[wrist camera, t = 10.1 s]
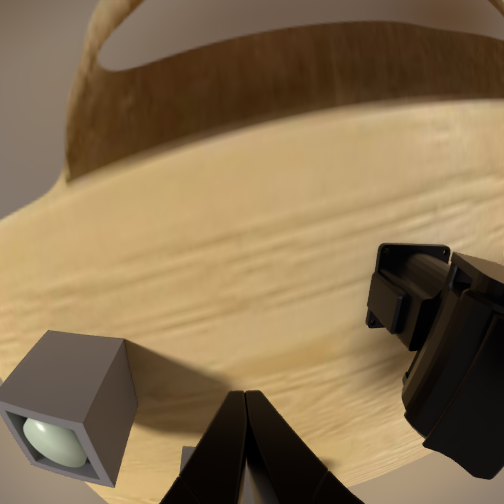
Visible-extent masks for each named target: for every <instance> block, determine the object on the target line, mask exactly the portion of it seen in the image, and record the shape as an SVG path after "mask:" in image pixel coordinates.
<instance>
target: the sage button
mask: <svg viewBox="0 0 504 504" xmlns="http://www.w3.org/2000/svg"><path fill="white" fill-rule="evenodd" d="M23 430H24V434H25V436H26V438H27V439H28V441H29V442H30V443H31V444H32V445H33V447H34V448H35V449H37V450H38V451H39V452H40V453H41V454H43V455H44V456H46V457H47V458H49V459H50V460H52V461H54V462H56V463H58V464H61V465H64V466H68V467H81V466H83V465H84V464H85V461H86V459H87V455H86V453H85V451H84V449H83V447H82V445H81V443H80V441H79V439H78V437H77V435H76V433H75V431H74V430H71V429H67V428H63V427H59V426H55V425H51V424H47V423H44V422H40V421H37V420H33V419H30V418H28V419H27V421H26V422H25V424H24V427H23Z"/></svg>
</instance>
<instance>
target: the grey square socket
mask: <svg viewBox="0 0 504 504" xmlns="http://www.w3.org/2000/svg"><path fill="white" fill-rule="evenodd" d="M137 407H138V403H137V399H136V395H135V391H134V386H133V382H132V378H131V373H130V368H129V363H128V358H127V353H126V348H125V342H124V339H120V338H109V337H99V336H89V335H80V334H72V333H64V332H57V331H49V330H48V331H47V332H46V333H45V334H44V335H43V336H42V338H41V339H40V340H39V341H38V342H37V343H36V344H35V346H34V347H33V348H32V349H31V350H30V351H29V352H28V354H27V355H26V356H25V357H24V358H23V359H22V361H21V362H20V363H19V364H18V365H17V367H16V368H15V369H14V370H13V372H12V373H11V374H10V375H9V376H8V378H7V379H6V380H5V381H4V383H3V384H2V385H1V387H0V414H1V416H2V418H3V420H4V422H5V423H6V425H7V427H8V429H9V430H10V432H11V434H12V435H13V437H14V438H15V440H16V442H17V443H18V445H19V446H20V448H21V450H22V451H23V453H24V454H25V455H26V457H27V458H28V460H29V461H30V463H31V464H32V465H34V466H37V467H39V468H42V469H45V470H48V471H51V472H54V473H57V474H61V475H64V476H68V477H71V478H75V479H79V480H82V481H86V482H90V483H94V484H98V485H103V486H108V487H112V488H115V484H116V481H117V477H118V473H119V469H120V466H121V462H122V458H123V455H124V451H125V448H126V444H127V441H128V437H129V434H130V430H131V427H132V424H133V420H134V417H135V414H136V411H137ZM28 418H30V419H33V420H37V421H40V422H44V423H47V424H51V425H55V426H59V427H63V428H67V429H71V430H74V431H75V433H76V435H77V437H78V439H79V441H80V443H81V445H82V447H83V449H84V451H85V453H86V455H87V459H86V461H85V464H84V465H83V466H81V467H68V466H64V465H61V464H58V463H56V462H54V461H52V460H50V459H49V458H47V457H46V456H44V455H43V454H41V453H40V452H39V451H38V450H37V449H35V448H34V447H33V445H32V444H31V443H30V442H29V441H28V439H27V438H26V436H25V434H24V430H23V427H24V424H25V422H26V421H27V419H28Z"/></svg>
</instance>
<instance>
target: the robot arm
mask: <svg viewBox="0 0 504 504" xmlns="http://www.w3.org/2000/svg"><path fill="white" fill-rule="evenodd" d="M385 248H387V252H386V253H384V249H385ZM444 250H445V253H444V254H443V252H444ZM449 256H450V248H449V247H448V246H446V245H433V244H405V243H382V244H381V245H380V246H379V248H378V254H377V260H376V267H375V272H374V273H373V275H372V280H371V286H370V291H369V297H368V302H367V306H368V312H367V317H366V324H367V326H368V327H369V328H385V327H386V329H387V330H388V331H389V332H390V333H391V334H392V335H393V334H395V335H396V336H397V337H398V338H399V339H400V340H401V341H402V343H403V344H404V345H405V346H406V347H407V348H408V350H409V351H417V353H416V355H415V358H414V360H413V362H412V364H411V366H410V368H409V370H408V372H406V373H405V375H404V377H403V379H402V381H403V386H404V387H403V390H402V401H403V404H404V407H405V409H406V412H405V413H404V416H405V419H406V420H407V421H408V423H409V424H410V425H411V427H412V428H413V429H414V430H416V431H417V432H418V433H419V434H420V435H421V436H422V437H423V438H425V441H424V442H423V443H422V445H423V446H424V447H425V448H428V449H431V450H434V451H437V452H440V453H442V454H444V455H445V456H447V457H449V458H451V459H453V460H454V461H455V462H457V463H458V464H459V465H460V466H461V467H463V468H464V469H465V470H466V471H467V472H469V473H470V474H471V475H472V476H474V477H477V478H482V479H488V480H490V479H492V478H494V477H495V476H496V475H497V474H498V472H499V471H500V470H501V469H502V468H503V467H504V266H502V265H500V264H498V263H495V262H491V261H487V260H483V259H480V258H476V257H472V256H468V255H464V254H461V253H457V252H453V254H452V257H451V260H450V261H451V262H452V263H451V266H450V265H448V261H449ZM372 320H374V322H373V323H371V321H372ZM246 461H247V468H248V474H249V479H250V483H251V488H252V493H253V497H254V502H255V504H365V503H364V502H362V501H361V500H360V499H359V498H357V497H356V496H355V495H353V494H352V493H351V492H350V491H349V490H348V489H347V488H346V487H345V486H344V485H343V484H342V483H341V482H340V481H339V480H338V479H337V478H336V477H335V476H334V475H333V474H332V473H331V471H328V468H327V467H326V466H325V465H324V464H323V463H322V462H321V461H320V460H319V459H318V457H317V456H316V455H315V454H314V453H313V452H312V451H311V450H310V449H309V447H308V446H307V445H306V444H305V443H304V442H303V441H302V439H301V438H300V437H299V436H298V435H297V434H296V433H295V431H294V430H293V429H292V428H291V427H290V426H289V424H288V423H287V422H286V421H285V420H284V418H283V417H282V416H281V415H280V414H279V413H278V411H277V410H276V409H275V408H274V406H273V405H272V404H271V403H270V402H269V400H268V399H267V398H266V397H265V395H264V394H263V393H262V392H261V391H260V390H247V391H246V392H244V391H242V390H239V391H229V392H228V393H227V395H226V397H225V399H224V400H223V402H222V404H221V406H220V407H219V409H218V411H217V412H216V414H215V416H214V418H213V419H212V421H211V423H210V424H209V426H208V428H207V429H206V431H205V433H204V434H203V436H202V438H201V439H200V441H199V443H198V444H197V446H196V448H195V449H194V451H193V453H192V454H191V456H190V458H189V459H188V461H187V462H186V464H185V466H184V467H183V469H182V471H181V472H180V474H179V477H177V478H176V480H175V481H174V483H173V485H172V486H171V488H170V489H169V491H168V492H167V493H166V495H165V496H164V498H163V499H162V500H161V502H160V503H159V504H242V502H243V492H244V482H245V472H246Z"/></svg>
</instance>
